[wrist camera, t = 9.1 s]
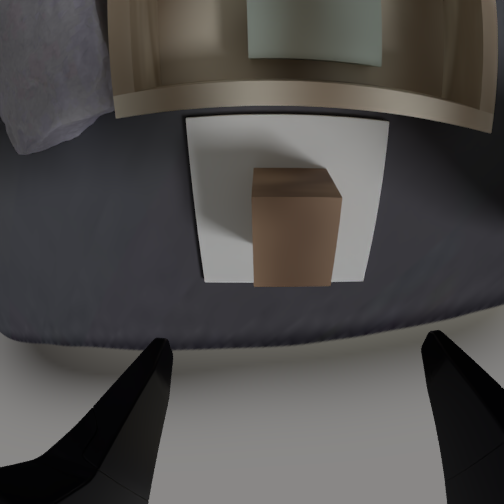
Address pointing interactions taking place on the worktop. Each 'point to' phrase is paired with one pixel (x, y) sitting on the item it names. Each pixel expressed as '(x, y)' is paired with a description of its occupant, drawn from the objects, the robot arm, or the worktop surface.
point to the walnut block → (294, 226)
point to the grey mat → (282, 156)
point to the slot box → (307, 56)
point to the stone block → (53, 70)
